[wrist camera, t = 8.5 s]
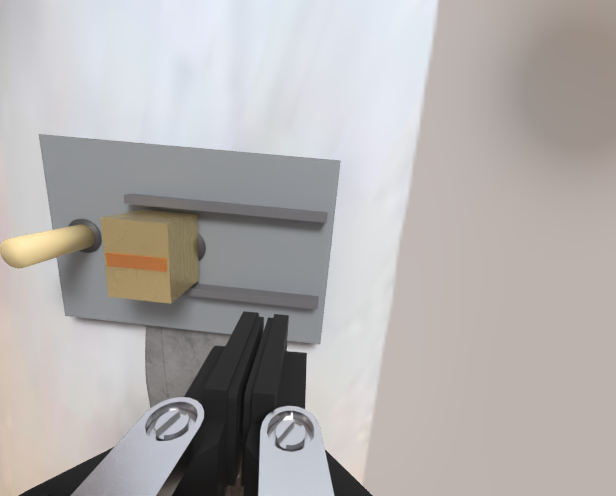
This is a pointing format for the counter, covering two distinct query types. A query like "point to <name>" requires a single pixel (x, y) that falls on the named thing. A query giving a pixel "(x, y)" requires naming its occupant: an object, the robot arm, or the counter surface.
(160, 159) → the bolt plate
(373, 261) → the counter surface
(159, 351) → the cleaver
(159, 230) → the cardboard box
